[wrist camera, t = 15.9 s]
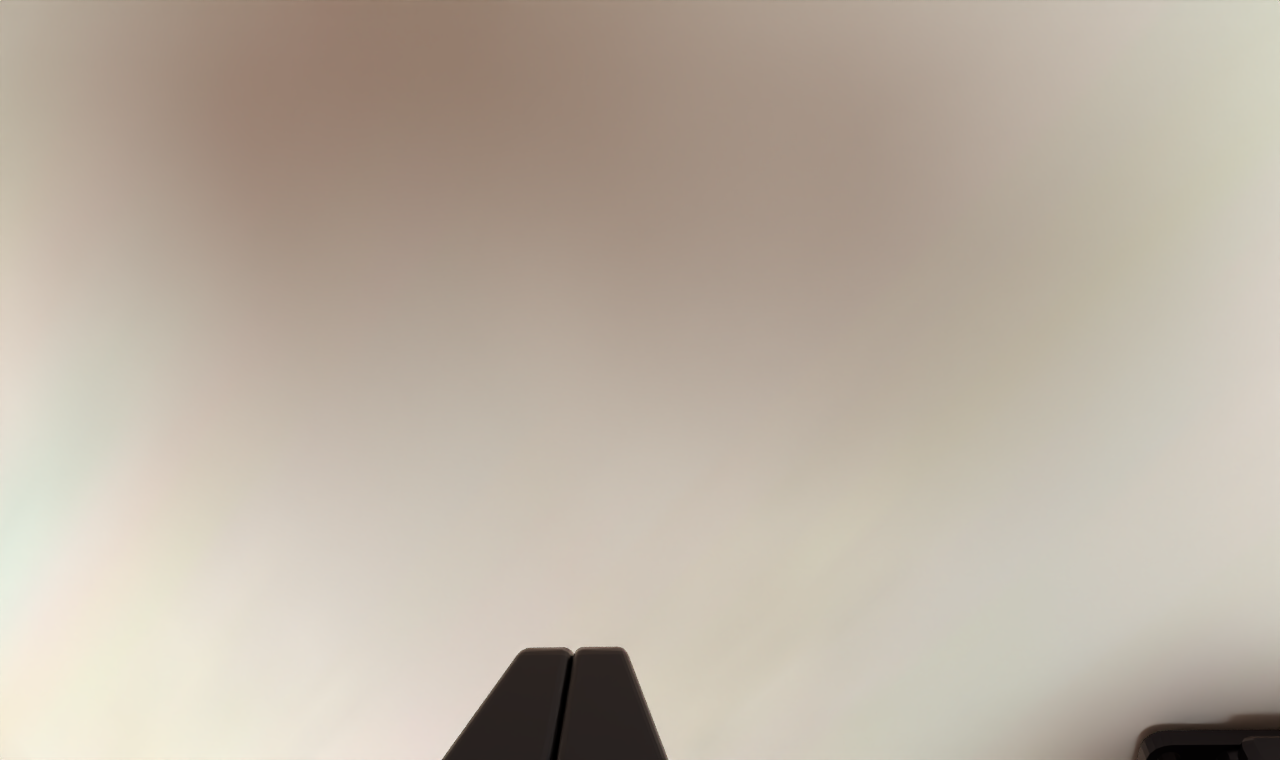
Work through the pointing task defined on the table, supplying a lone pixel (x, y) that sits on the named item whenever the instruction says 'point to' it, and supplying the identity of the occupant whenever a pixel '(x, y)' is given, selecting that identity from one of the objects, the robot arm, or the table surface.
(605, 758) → the robot arm
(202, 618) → the table surface
